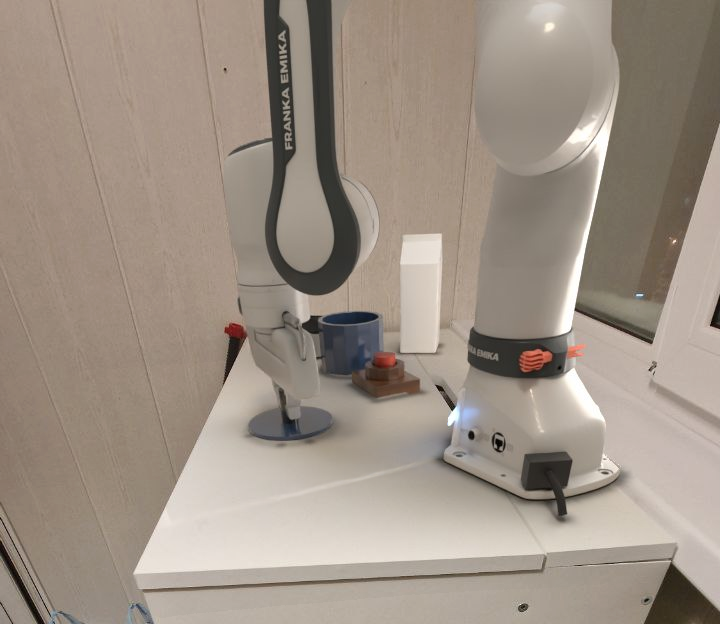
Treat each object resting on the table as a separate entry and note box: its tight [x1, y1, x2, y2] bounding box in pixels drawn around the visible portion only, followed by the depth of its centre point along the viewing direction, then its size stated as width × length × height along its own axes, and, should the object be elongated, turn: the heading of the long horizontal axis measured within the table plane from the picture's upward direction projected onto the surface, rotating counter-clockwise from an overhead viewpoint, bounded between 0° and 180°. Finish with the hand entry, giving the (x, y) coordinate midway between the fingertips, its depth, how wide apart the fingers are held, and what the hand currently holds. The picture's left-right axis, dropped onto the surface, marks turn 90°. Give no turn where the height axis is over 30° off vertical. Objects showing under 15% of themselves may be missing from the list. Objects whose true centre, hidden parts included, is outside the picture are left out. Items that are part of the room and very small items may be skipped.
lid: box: [247, 388, 334, 441], centre depth 81 cm, size 13×13×6 cm
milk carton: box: [399, 233, 444, 354], centre depth 107 cm, size 7×7×19 cm
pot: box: [318, 310, 385, 376], centre depth 102 cm, size 12×12×8 cm
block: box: [351, 358, 421, 398], centre depth 93 cm, size 10×8×4 cm
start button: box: [374, 351, 397, 367], centre depth 92 cm, size 4×4×2 cm
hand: (289, 413), depth 82 cm, fingers closed on lid, 2 cm apart
